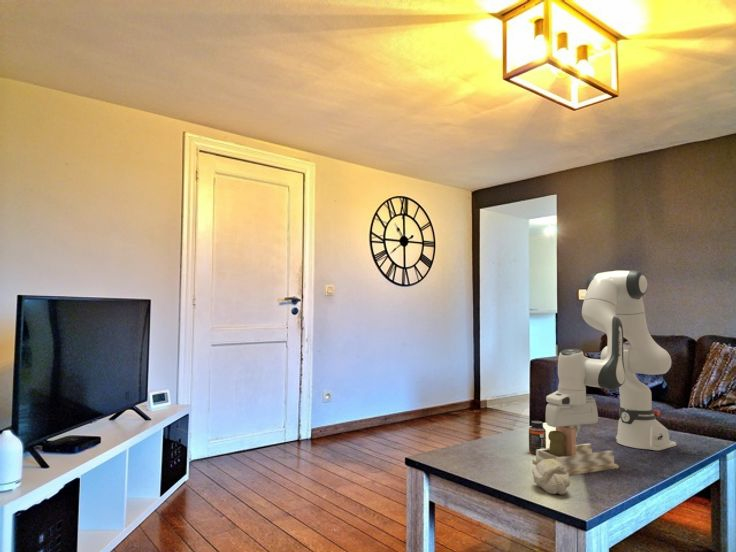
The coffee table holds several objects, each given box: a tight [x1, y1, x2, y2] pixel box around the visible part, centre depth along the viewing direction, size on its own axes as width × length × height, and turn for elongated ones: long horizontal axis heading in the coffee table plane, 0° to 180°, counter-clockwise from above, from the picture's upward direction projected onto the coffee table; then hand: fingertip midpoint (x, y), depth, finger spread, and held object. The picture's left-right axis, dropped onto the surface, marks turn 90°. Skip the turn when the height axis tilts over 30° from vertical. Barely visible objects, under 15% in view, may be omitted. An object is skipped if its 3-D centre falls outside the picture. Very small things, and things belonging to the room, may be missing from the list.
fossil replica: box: [532, 459, 571, 495], centre depth 140 cm, size 12×8×10 cm
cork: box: [548, 430, 565, 457], centre depth 160 cm, size 6×6×11 cm
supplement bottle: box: [528, 420, 547, 455], centre depth 177 cm, size 6×6×11 cm
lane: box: [532, 442, 619, 476], centre depth 163 cm, size 24×14×5 cm, turn 112°
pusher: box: [555, 426, 577, 456], centre depth 161 cm, size 2×7×12 cm, turn 22°
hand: (572, 438), depth 163 cm, fingers closed
